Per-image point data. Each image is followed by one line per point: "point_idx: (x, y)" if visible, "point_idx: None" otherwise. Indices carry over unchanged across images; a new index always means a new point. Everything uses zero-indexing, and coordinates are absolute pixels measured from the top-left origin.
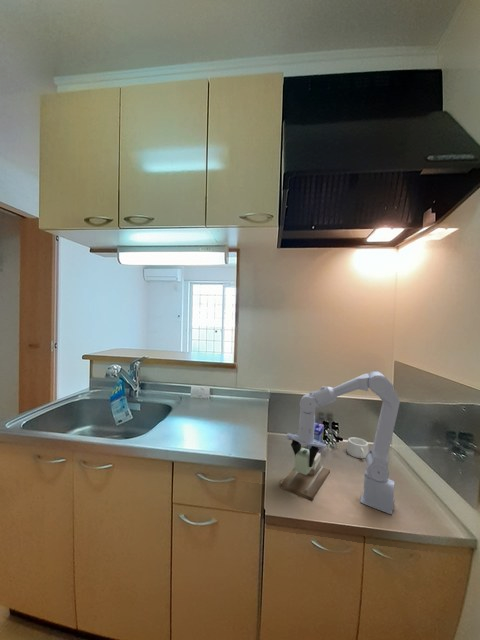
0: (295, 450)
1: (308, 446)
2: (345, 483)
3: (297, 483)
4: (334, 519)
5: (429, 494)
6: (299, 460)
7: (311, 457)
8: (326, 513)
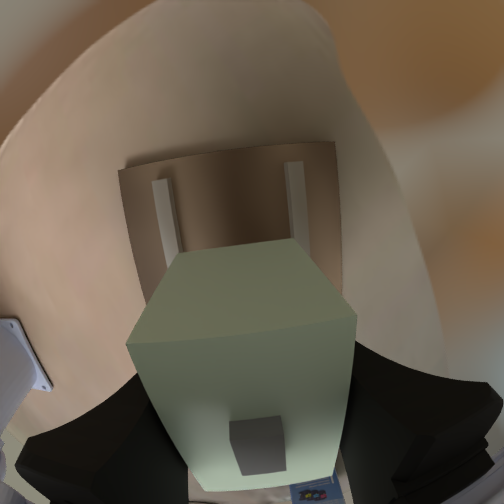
0: (390, 385)
1: (332, 480)
2: None
3: (254, 230)
4: (19, 140)
5: (15, 436)
6: (264, 290)
7: (123, 402)
8: (47, 143)
